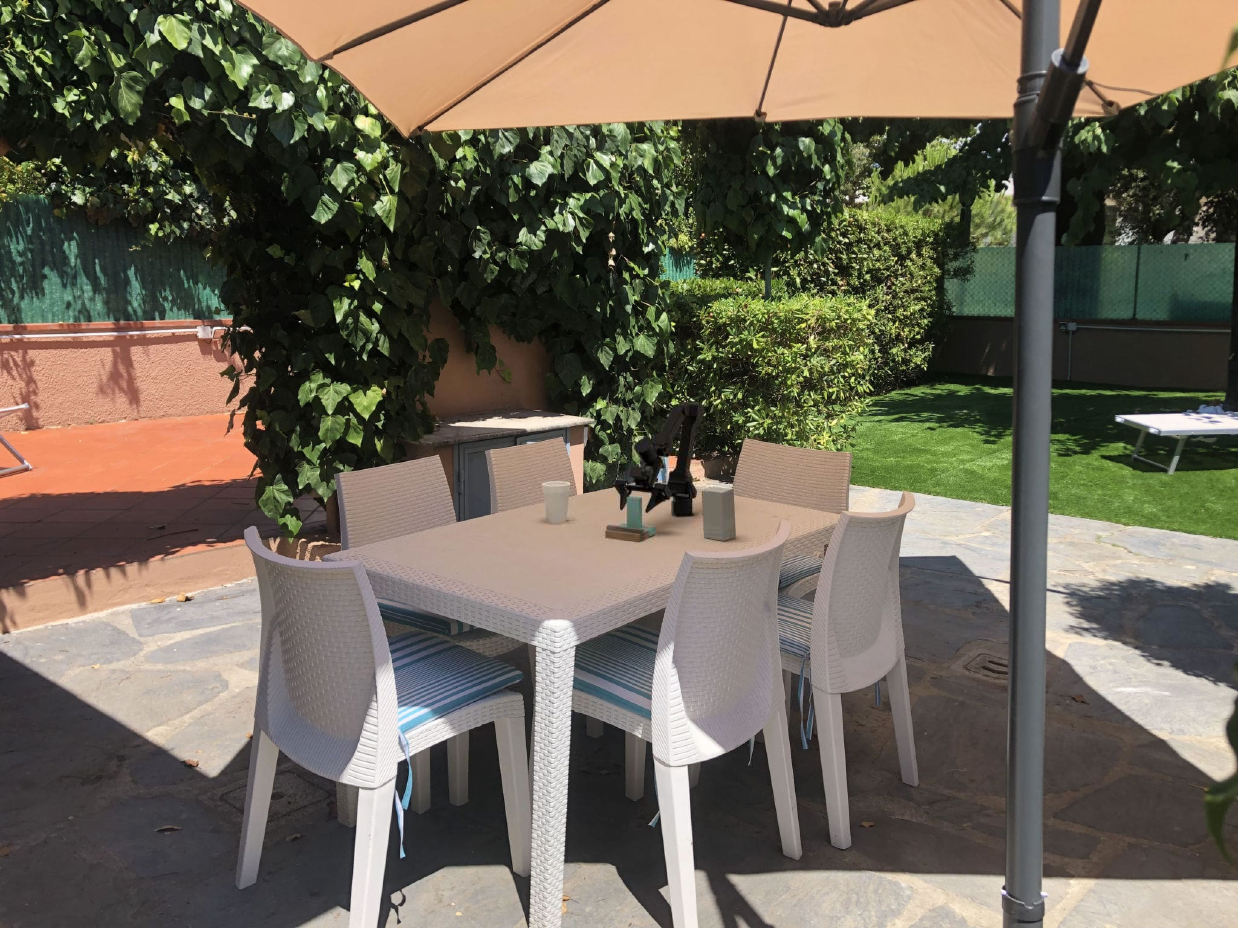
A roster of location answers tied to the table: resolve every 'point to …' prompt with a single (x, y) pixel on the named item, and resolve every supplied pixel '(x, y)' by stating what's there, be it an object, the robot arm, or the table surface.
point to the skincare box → (718, 513)
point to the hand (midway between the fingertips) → (633, 511)
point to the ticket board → (626, 533)
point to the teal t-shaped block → (636, 515)
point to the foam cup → (556, 500)
